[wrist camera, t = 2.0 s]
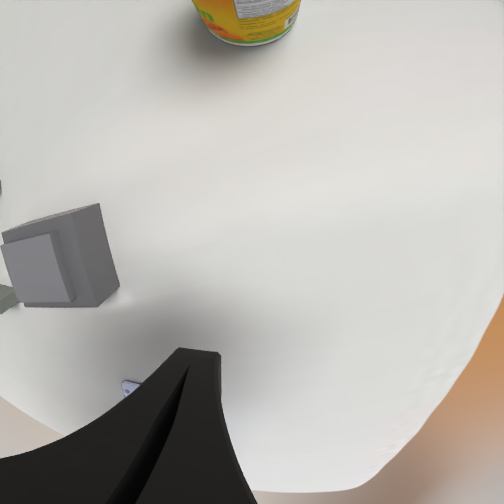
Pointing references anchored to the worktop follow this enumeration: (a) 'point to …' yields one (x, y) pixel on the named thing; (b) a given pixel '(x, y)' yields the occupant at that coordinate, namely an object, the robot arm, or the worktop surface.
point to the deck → (6, 294)
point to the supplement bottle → (248, 19)
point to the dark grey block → (61, 260)
